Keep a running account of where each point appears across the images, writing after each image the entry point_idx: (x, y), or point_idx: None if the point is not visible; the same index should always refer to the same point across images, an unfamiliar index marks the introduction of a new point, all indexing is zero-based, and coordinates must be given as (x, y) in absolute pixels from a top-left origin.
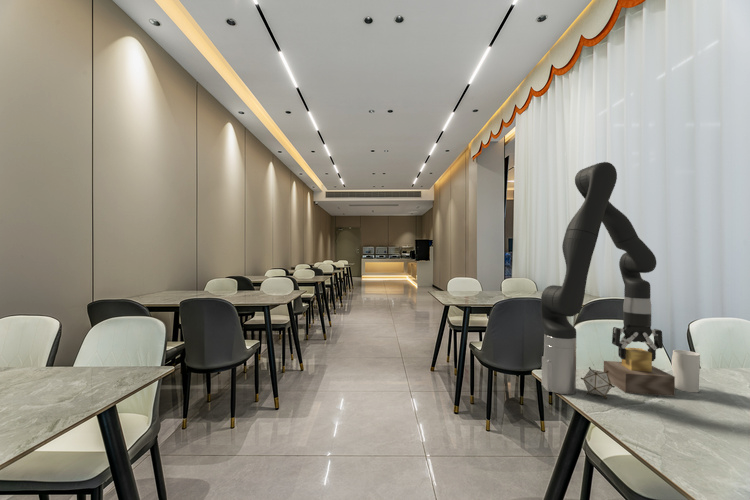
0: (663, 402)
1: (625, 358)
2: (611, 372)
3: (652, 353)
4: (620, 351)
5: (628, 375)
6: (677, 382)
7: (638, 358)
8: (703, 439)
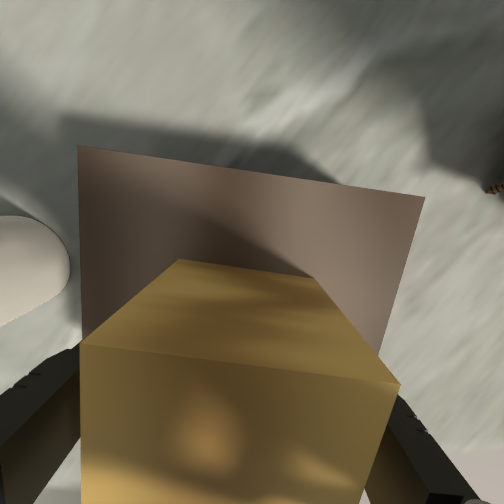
0: (264, 77)
1: None
2: None
3: (39, 398)
4: (441, 458)
5: (399, 193)
6: (42, 263)
7: (279, 318)
8: None
